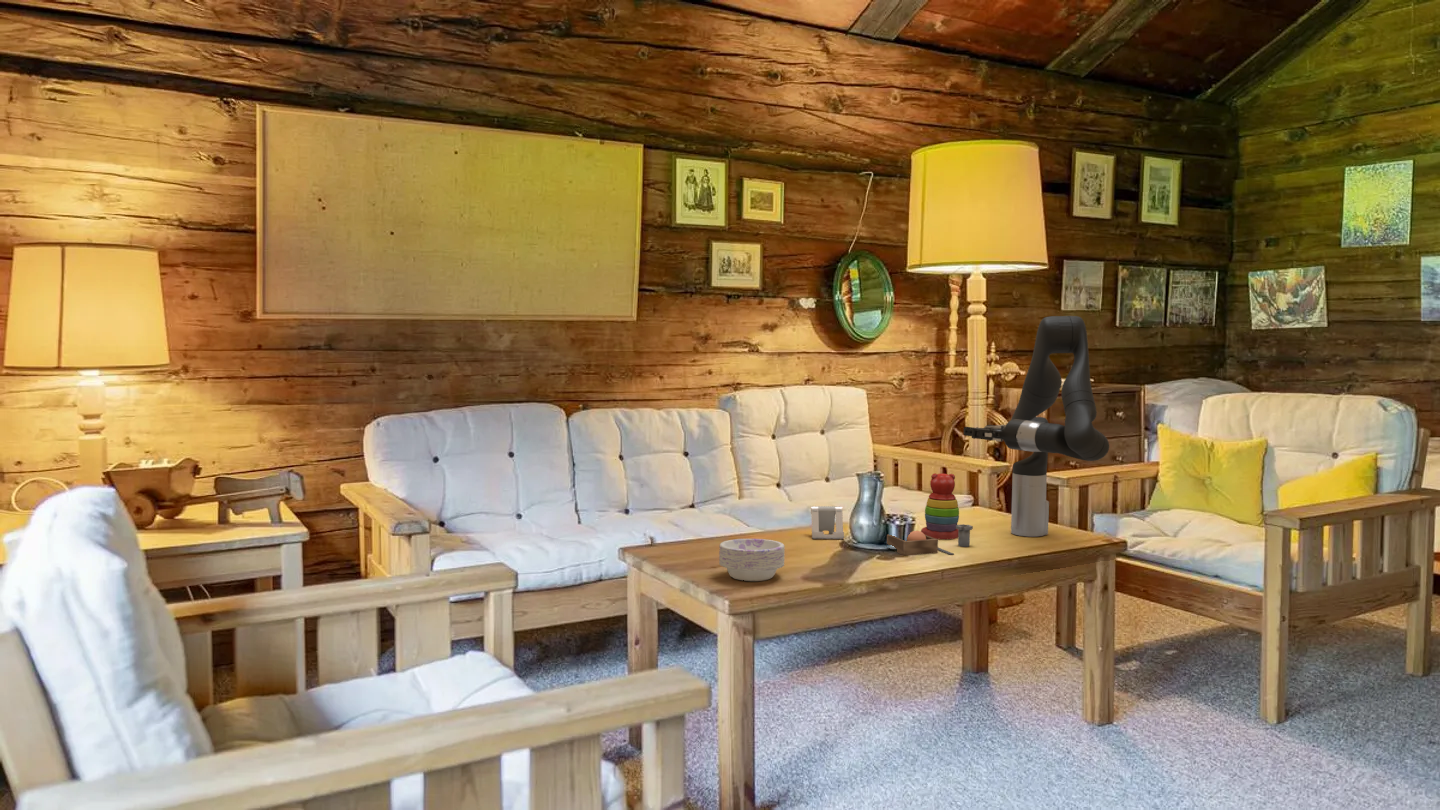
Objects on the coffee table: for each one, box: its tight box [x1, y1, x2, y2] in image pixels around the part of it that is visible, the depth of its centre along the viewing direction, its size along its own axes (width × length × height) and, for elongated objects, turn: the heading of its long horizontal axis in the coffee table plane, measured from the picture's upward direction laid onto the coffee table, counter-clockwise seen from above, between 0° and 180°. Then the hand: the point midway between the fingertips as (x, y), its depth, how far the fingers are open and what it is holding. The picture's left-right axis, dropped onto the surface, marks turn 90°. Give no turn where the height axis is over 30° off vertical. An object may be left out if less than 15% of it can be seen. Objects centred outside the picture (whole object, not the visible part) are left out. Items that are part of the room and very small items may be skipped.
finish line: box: [938, 547, 955, 556], centre depth 268 cm, size 1×16×1 cm, turn 19°
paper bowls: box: [718, 538, 786, 582], centre depth 237 cm, size 15×15×8 cm
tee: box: [956, 524, 974, 548], centre depth 271 cm, size 4×4×5 cm
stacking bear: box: [920, 472, 960, 541], centre depth 283 cm, size 11×10×18 cm
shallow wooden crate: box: [886, 534, 939, 556], centre depth 266 cm, size 10×10×4 cm
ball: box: [907, 530, 926, 541], centre depth 264 cm, size 5×5×5 cm
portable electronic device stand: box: [810, 505, 845, 540], centre depth 282 cm, size 9×8×8 cm
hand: (975, 430), depth 261 cm, fingers open, 8 cm apart
